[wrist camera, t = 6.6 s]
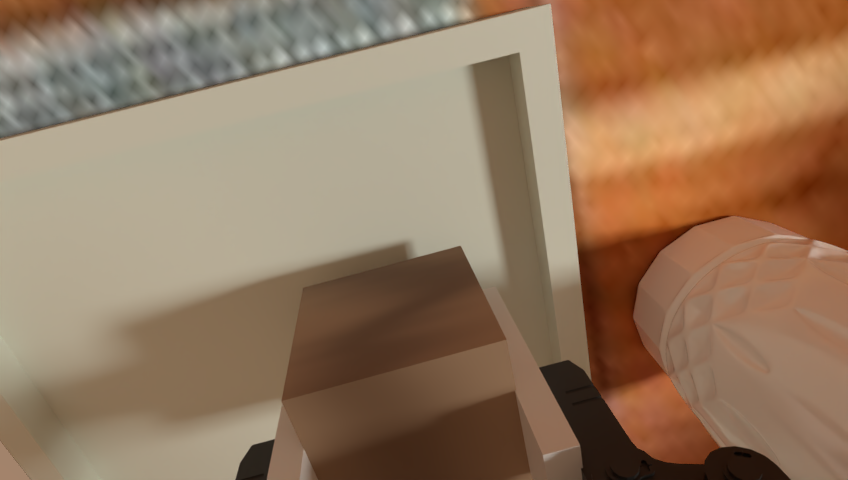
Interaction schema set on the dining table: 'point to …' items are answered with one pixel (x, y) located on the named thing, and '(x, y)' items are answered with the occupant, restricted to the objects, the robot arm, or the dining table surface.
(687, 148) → the dining table surface
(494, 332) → the walnut block
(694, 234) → the white cup
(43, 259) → the tray
